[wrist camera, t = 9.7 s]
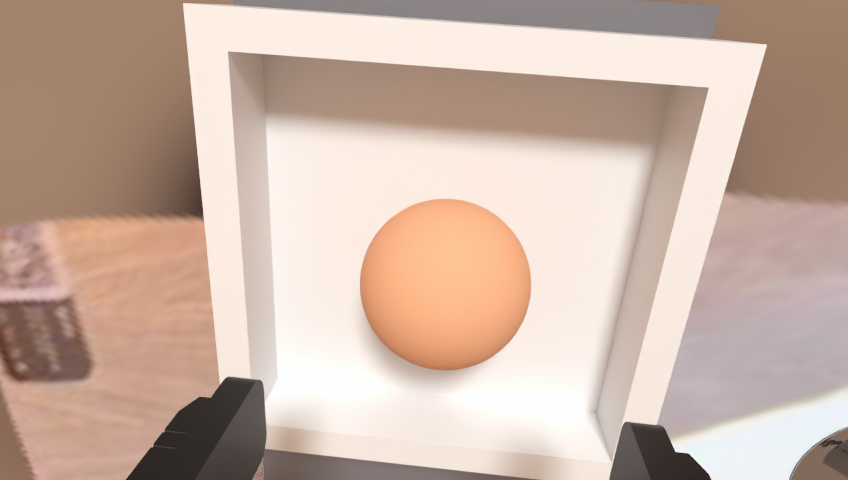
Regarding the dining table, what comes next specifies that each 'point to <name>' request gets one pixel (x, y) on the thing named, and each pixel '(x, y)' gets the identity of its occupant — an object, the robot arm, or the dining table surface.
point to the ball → (445, 284)
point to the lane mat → (500, 4)
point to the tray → (469, 181)
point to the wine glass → (825, 459)
